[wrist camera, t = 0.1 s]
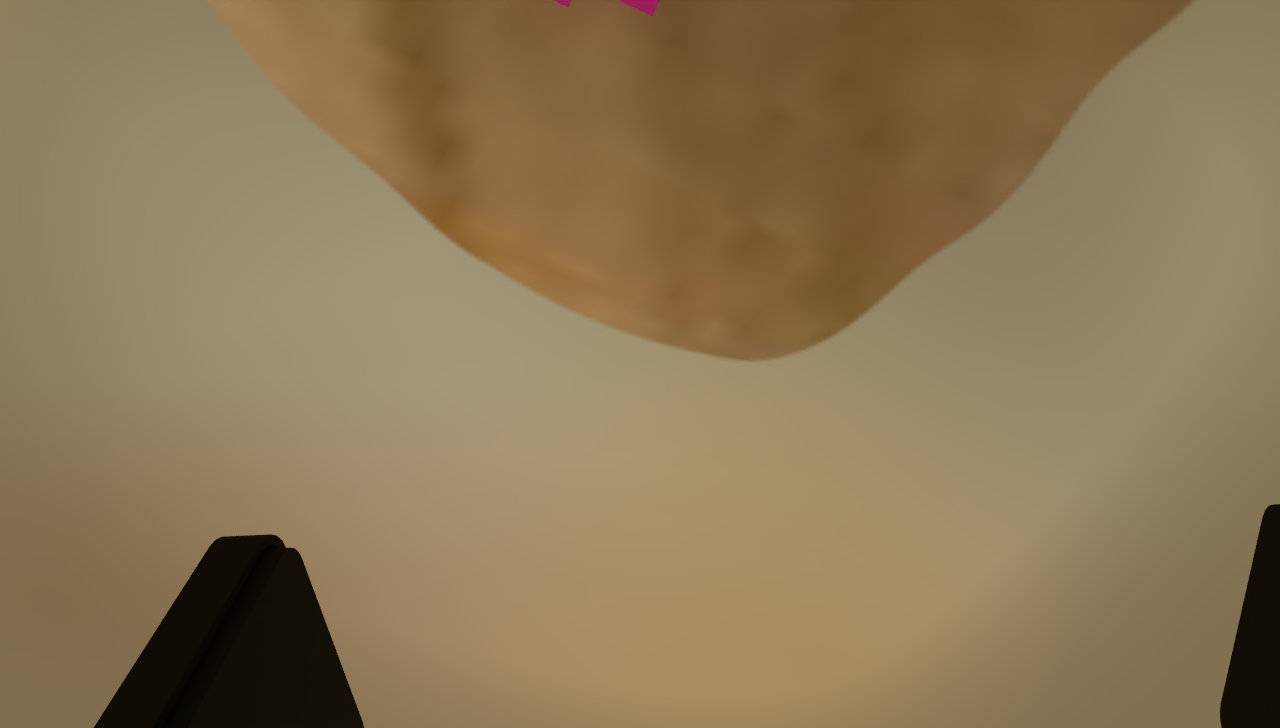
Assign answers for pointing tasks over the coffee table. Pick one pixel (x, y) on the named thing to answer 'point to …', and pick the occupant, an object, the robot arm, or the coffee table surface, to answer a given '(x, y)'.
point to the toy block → (646, 3)
